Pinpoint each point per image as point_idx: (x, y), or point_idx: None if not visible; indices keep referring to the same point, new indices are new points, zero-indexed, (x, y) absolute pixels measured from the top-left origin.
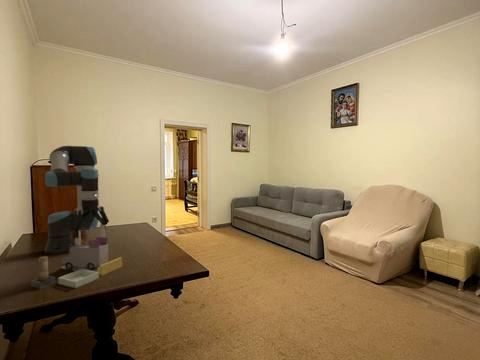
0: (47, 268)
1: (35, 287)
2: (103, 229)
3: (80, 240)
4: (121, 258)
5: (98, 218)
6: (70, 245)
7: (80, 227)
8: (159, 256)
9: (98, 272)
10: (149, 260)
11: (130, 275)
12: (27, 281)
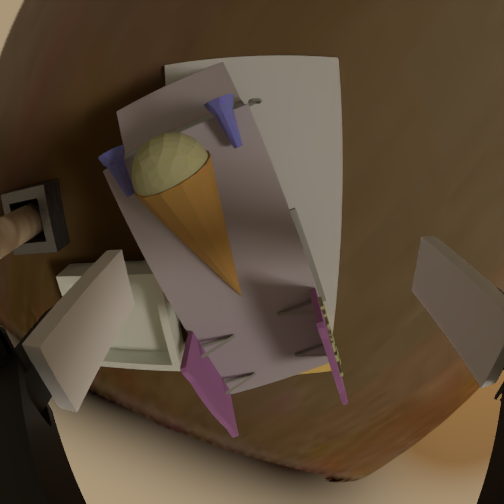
0: (6, 254)
1: None
2: (453, 345)
3: (118, 327)
4: (326, 370)
5: (486, 501)
6: (104, 165)
7: (59, 451)
8: (456, 356)
9: (180, 370)
10: (415, 362)
11: (266, 410)
12: (23, 119)
